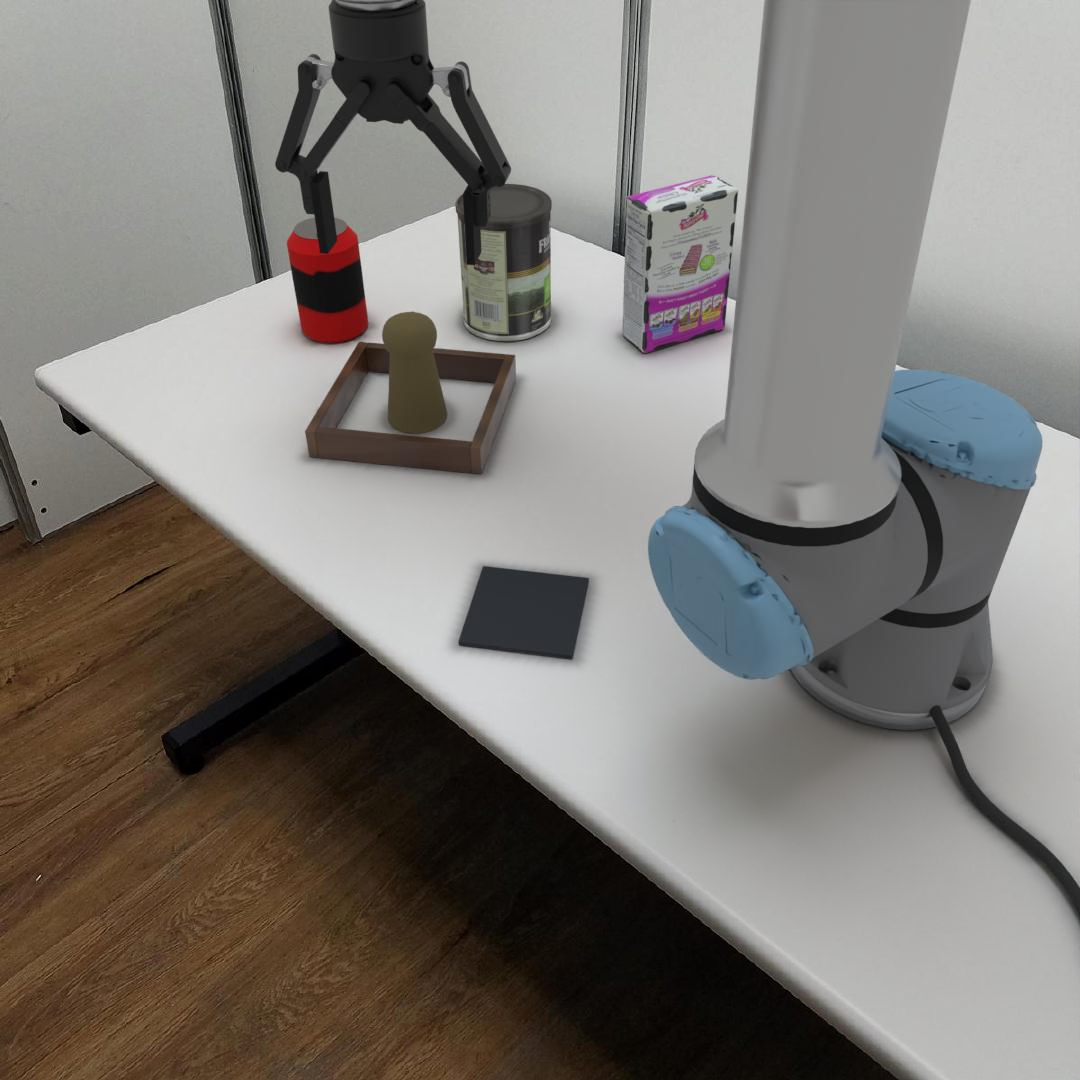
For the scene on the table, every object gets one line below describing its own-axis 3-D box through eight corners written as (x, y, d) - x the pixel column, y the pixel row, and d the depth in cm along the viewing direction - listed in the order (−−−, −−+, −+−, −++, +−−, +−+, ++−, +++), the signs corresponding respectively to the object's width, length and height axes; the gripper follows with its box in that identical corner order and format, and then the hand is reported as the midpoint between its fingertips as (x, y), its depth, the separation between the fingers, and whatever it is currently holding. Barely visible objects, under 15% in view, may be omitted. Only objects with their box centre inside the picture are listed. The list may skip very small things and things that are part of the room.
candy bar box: (699, 311, 124) (713, 172, 113) (725, 330, 120) (742, 188, 110) (618, 335, 120) (624, 193, 109) (642, 355, 116) (651, 211, 106)
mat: (572, 659, 82) (572, 655, 82) (458, 645, 83) (458, 641, 83) (588, 581, 89) (588, 577, 88) (483, 569, 90) (482, 565, 90)
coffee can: (552, 298, 127) (552, 182, 117) (551, 342, 119) (551, 221, 110) (465, 298, 127) (458, 182, 118) (459, 342, 119) (451, 221, 110)
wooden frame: (481, 474, 100) (480, 448, 98) (309, 457, 102) (304, 431, 101) (516, 379, 113) (515, 354, 111) (362, 365, 115) (358, 341, 113)
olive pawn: (421, 393, 111) (412, 297, 104) (459, 416, 108) (453, 318, 100) (375, 416, 108) (362, 318, 101) (413, 440, 104) (403, 341, 97)
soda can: (311, 350, 118) (294, 248, 110) (294, 319, 123) (277, 220, 115) (377, 335, 120) (364, 234, 112) (357, 306, 125) (344, 208, 118)
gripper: (543, -9, 84) (543, 244, 97) (242, -22, 87) (284, 225, 101) (525, 17, 78) (528, 282, 92) (204, 2, 81) (254, 260, 95)
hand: (400, 253), depth 96 cm, fingers open, 13 cm apart
